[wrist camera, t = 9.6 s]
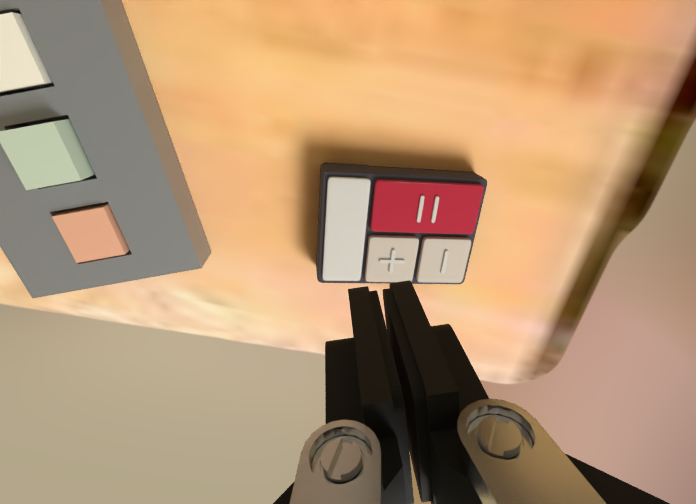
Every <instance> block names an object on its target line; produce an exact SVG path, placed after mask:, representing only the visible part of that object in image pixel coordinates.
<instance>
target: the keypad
mask: <svg viewBox="0 0 696 504" xmlns="http://www.w3.org/2000/svg"><path fill="white" fill-rule="evenodd" d="M11 12H13V13H18V14H22V16H23V18H24V21H25V23H26V25H27V27H28V29H29V32H30V34H31V36H32V38H33V40H34V42H35V45H36V47H37V49H38V51H39V53H40V55H41V58H42V60H43V62H44V64H45V66H46V68H47V71H48V73H49V75H50V77H51V79H52V82H53V84H54V85H49V86H43V87H38V88H33V89H27V90H22V91H17V92H10V93H0V131H5V130H10V129H16V128H21V127H27V126H32V125H38V124H43V123H48V122H54V121H60V120H66V119H70V121H71V123H72V125H73V127H74V129H75V131H76V134H77V136H78V138H79V140H80V142H81V145H82V147H83V149H84V151H85V153H86V155H87V158H88V160H89V162H90V164H91V166H92V168H93V171H94V173H95V175H92V176H90V177H88V178H85V179H83V180H80V181H75V182H69V183H64V184H58V185H53V186H47V187H42V188H36V189H31V190H26V189H25V187H24V185H23V184H22V182H21V180H20V178H19V176H18V174H17V173H16V171H15V169H14V167H13V165H12V164H11V162H10V160H9V158H8V156H7V154H6V153H5V151H4V149H3V147H2V145H1V144H0V247H1V248H2V250H3V251H4V253H5V255H6V256H7V258H8V260H9V261H10V263H11V264H12V266H13V268H14V269H15V271H16V272H17V274H18V276H19V277H20V279H21V280H22V282H23V284H24V285H25V287H26V288H27V290H28V292H29V293H30V295H31V296H32V298H37V297H42V296H48V295H54V294H59V293H65V292H70V291H76V290H82V289H87V288H93V287H98V286H104V285H110V284H115V283H121V282H126V281H132V280H138V279H143V278H149V277H155V276H160V275H166V274H171V273H177V272H183V271H188V270H194V269H199V268H202V266H203V265H204V263H205V262H206V260H207V258H208V257H209V255H210V254H211V249H210V247H209V244H208V241H207V238H206V236H205V233H204V230H203V227H202V224H201V222H200V219H199V216H198V213H197V210H196V208H195V205H194V202H193V199H192V196H191V194H190V191H189V188H188V185H187V182H186V180H185V177H184V174H183V171H182V168H181V166H180V163H179V160H178V157H177V154H176V152H175V149H174V146H173V143H172V141H171V138H170V135H169V132H168V129H167V127H166V124H165V121H164V118H163V115H162V113H161V110H160V107H159V104H158V101H157V99H156V96H155V93H154V90H153V87H152V85H151V82H150V79H149V76H148V73H147V71H146V68H145V65H144V62H143V59H142V57H141V54H140V51H139V48H138V46H137V43H136V40H135V37H134V34H133V32H132V29H131V26H130V23H129V20H128V18H127V15H126V12H125V9H124V6H123V4H122V1H121V0H0V14H6V13H11ZM104 202H108V203H109V205H110V208H111V210H112V212H113V214H114V216H115V218H116V221H117V223H118V225H119V227H120V229H121V231H122V234H123V236H124V238H125V240H126V242H127V244H128V247H129V249H130V250H129V251H128V252H127V253H126V254H124V255H118V256H113V257H107V258H101V259H96V260H90V261H85V262H79V263H76V261H75V259H74V257H73V255H72V254H71V252H70V250H69V248H68V246H67V244H66V242H65V240H64V239H63V237H62V235H61V233H60V231H59V229H58V227H57V226H56V224H55V222H54V220H53V218H52V216H54V215H56V214H58V213H60V212H62V211H64V210H66V209H71V208H76V207H82V206H87V205H93V204H98V203H104Z"/></svg>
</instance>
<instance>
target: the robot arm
mask: <svg viewBox="0 0 696 504" xmlns="http://www.w3.org/2000/svg"><path fill="white" fill-rule="evenodd" d="M348 293H349V301H350V310H351V318H352V327H353V336H354V338H348V339H341V340H334V341H327V342H326V344H325V361H326V362H325V366H326V367H325V372H326V424H325V425H323V426H321V427H320V428H319V429H317V430H316V431H315V432H313V433H312V434H311V436H310V437H309V438H308V440H307V441H306V442H305V444H304V447H303V450H302V452H301V455H300V460H299V464H298V469H297V473H296V478H295V482H294V483H293V484H292V485H291V486H290V487H289V488H288V489H287V490H286V491H285V492H284V493H283V494H282V495H281V496H280V497H279V498H278V499H277V500H276V501H275V502H274V503H273V504H413V503H414V498H413V488H412V477H411V466H410V455H411V460H412V464H413V468H414V473H415V477H416V481H417V486H418V490H419V494H420V498H421V501H422V502H427V501H431V504H669V503H667V502H665V501H663V500H661V499H659V498H657V497H655V496H653V495H651V494H648V493H646V492H644V491H642V490H640V489H638V488H636V487H634V486H632V485H629V484H628V483H626V482H623V481H621V480H619V479H617V478H615V477H613V476H611V475H609V474H607V473H605V472H603V471H600V470H598V469H596V468H594V467H592V466H590V465H588V464H586V463H584V462H582V461H580V460H577V459H575V458H573V457H571V456H569V455H567V454H565V453H564V452H563V451H562V450H561V449H560V448H559V446H558V445H557V444H556V443H555V441H554V440H553V439H552V438H551V437H550V436H549V434H548V433H547V432H546V431H545V430H544V428H543V427H542V426H541V425H540V424H539V422H538V421H537V420H536V419H535V418H534V417H533V416H532V415H531V414H530V413H528V412H527V411H526V410H524V409H523V408H521V407H519V406H518V405H516V404H513V403H510V402H507V401H504V400H498V399H489V398H488V396H487V394H486V392H485V390H484V388H483V386H482V384H481V382H480V380H479V378H478V376H477V374H476V373H475V371H474V369H473V367H472V365H471V363H470V361H469V359H468V357H467V355H466V353H465V352H464V350H463V348H462V346H461V344H460V342H459V340H458V338H457V336H456V334H455V332H454V331H453V329H452V327H451V326H450V325H449V324H445V325H438V326H430V324H429V321H428V319H427V317H426V315H425V312H424V310H423V308H422V306H421V303H420V301H419V299H418V296H417V294H416V292H415V290H414V287H413V285H412V283H411V281H410V280H408V281H401V282H394V283H390V289H383V299H384V308H385V317H386V325H385V321H384V317H383V313H382V309H381V305H380V301H379V297H378V294H377V290H376V291H369V289H368V286H367V287H360V288H353V289H348ZM386 327H387V329H386ZM409 451H410V455H409Z"/></svg>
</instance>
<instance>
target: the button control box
mask: <svg viewBox="0 0 696 504" xmlns="http://www.w3.org/2000/svg"><path fill="white" fill-rule="evenodd" d="M486 186H487V181H486V179H484V178H483V177H481V176H479V175H477V174H476V173H474V172H464V171H448V170H432V169H414V168H395V167H376V166H367V165H355V164H339V163H323V164H322V165H321V169H320V190H319V211H318V233H317V255H316V268H317V279H318V281H319V282H321V283H394V282H401V281H408V280H410V281H411V283H412V284H461V283H463V282H464V279H465V275H466V271H467V267H468V263H469V258H470V254H471V250H472V246H473V241H474V237H475V233H476V229H477V224H478V220H479V216H480V212H481V207H482V203H483V199H484V195H485V190H486Z"/></svg>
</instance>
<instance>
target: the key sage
mask: <svg viewBox="0 0 696 504" xmlns="http://www.w3.org/2000/svg"><path fill="white" fill-rule="evenodd" d="M0 144H1V145H2V147H3V149H4V151H5V153H6V154H7V156H8V158H9V160H10V162H11V164H12V165H13V167H14V169H15V171H16V173H17V174H18V176H19V178H20V180H21V182H22V184H23V185H24V187H25V189H26V190H31V189H36V188H42V187H47V186H53V185H58V184H64V183H69V182H75V181H80V180H83V179H85V178H88V177H90V176H92V175H95V173H94V171H93V168H92V166H91V164H90V162H89V160H88V158H87V155H86V153H85V151H84V149H83V147H82V145H81V142H80V140H79V138H78V136H77V134H76V131H75V129H74V127H73V125H72V123H71V121H70V119H66V120H60V121H54V122H48V123H43V124H38V125H32V126H27V127H21V128H16V129H10V130H5V131H0Z"/></svg>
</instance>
